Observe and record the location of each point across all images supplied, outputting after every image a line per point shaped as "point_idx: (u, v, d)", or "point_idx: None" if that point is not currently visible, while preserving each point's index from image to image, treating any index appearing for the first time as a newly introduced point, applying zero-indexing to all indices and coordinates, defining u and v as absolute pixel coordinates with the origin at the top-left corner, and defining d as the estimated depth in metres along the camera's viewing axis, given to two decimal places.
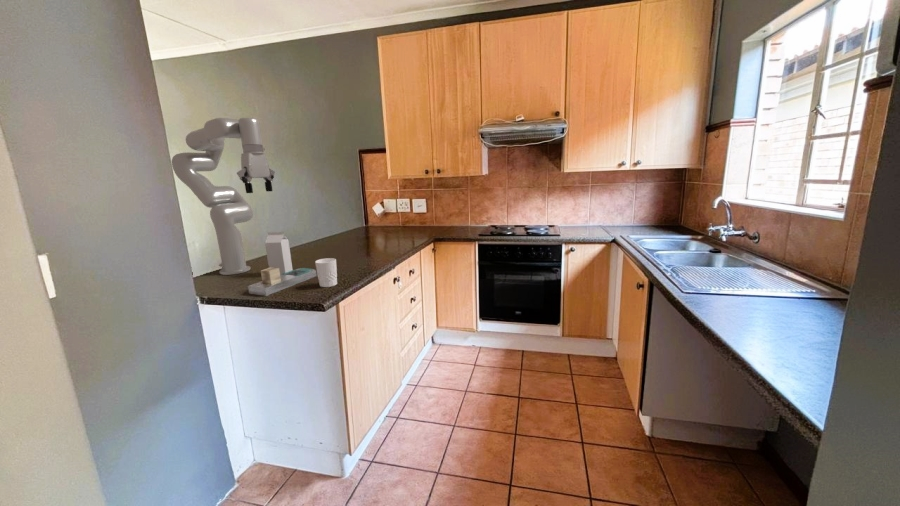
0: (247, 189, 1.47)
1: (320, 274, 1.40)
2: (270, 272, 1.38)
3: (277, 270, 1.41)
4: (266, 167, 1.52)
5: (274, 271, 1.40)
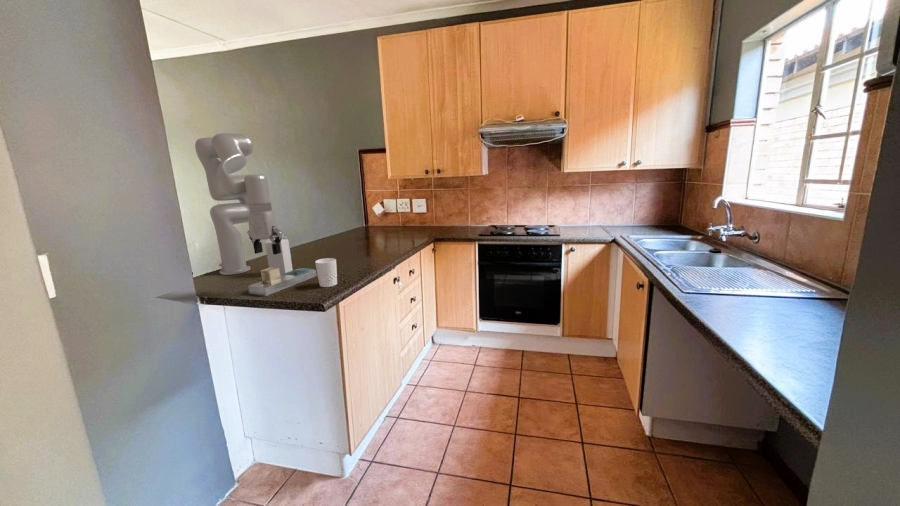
0: (279, 249, 1.36)
1: (320, 274, 1.40)
2: (270, 272, 1.38)
3: (277, 270, 1.41)
4: None
5: (274, 271, 1.40)
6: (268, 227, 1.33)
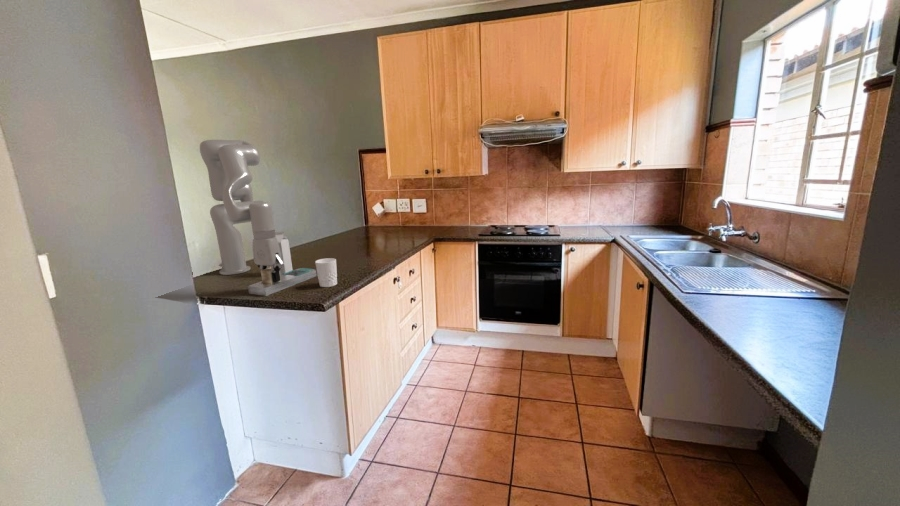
0: (278, 278, 1.40)
1: (320, 274, 1.40)
2: (270, 272, 1.38)
3: None
4: None
5: None
6: (272, 254, 1.35)
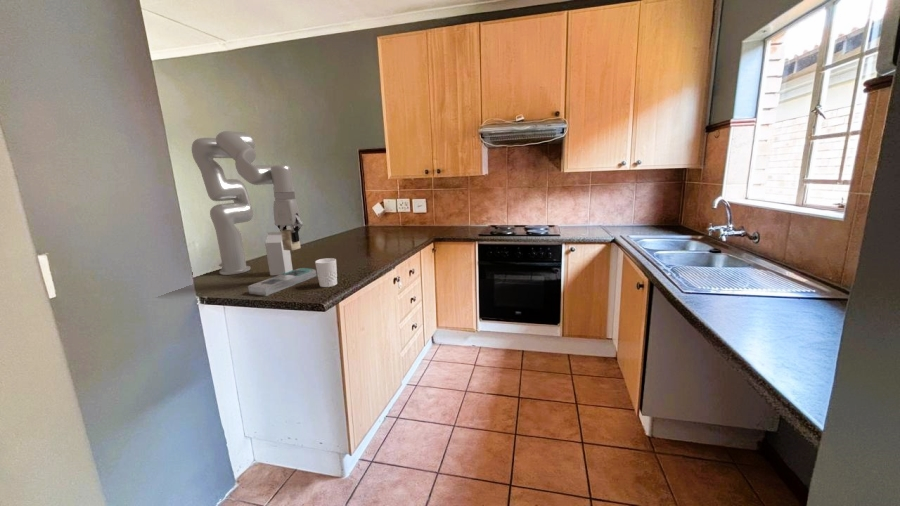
0: (297, 238, 1.48)
1: (320, 274, 1.40)
2: (290, 232, 1.46)
3: None
4: None
5: None
6: (292, 214, 1.43)
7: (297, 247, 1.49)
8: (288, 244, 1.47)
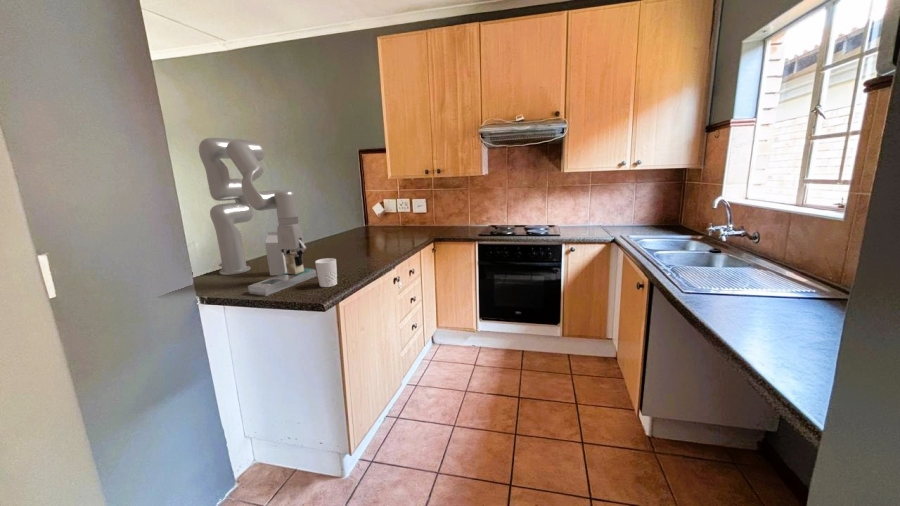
0: (301, 261, 1.50)
1: (320, 274, 1.40)
2: (293, 256, 1.48)
3: None
4: None
5: None
6: (296, 239, 1.45)
7: (300, 270, 1.52)
8: (292, 268, 1.49)
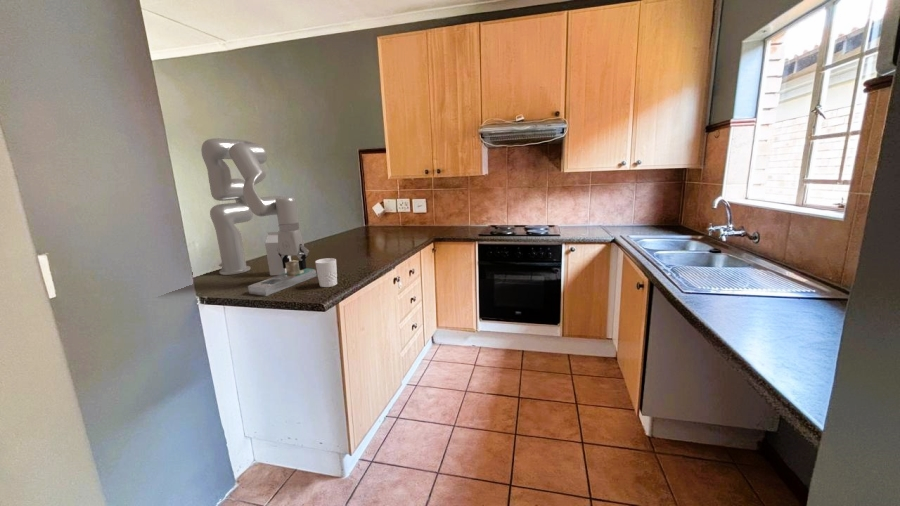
0: (304, 265, 1.49)
1: (320, 274, 1.40)
2: (294, 264, 1.49)
3: None
4: None
5: (298, 263, 1.50)
6: (296, 245, 1.46)
7: None
8: None
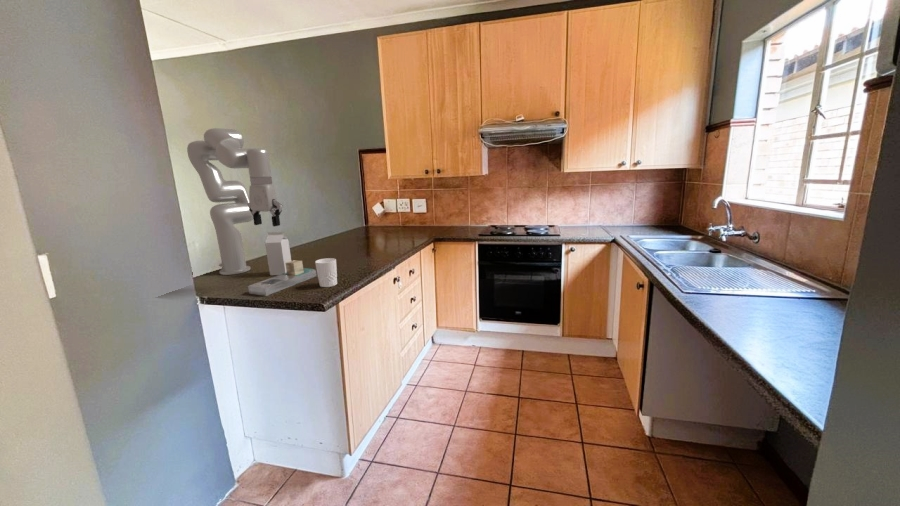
0: (278, 222, 1.43)
1: (320, 274, 1.40)
2: (294, 264, 1.49)
3: (300, 262, 1.52)
4: None
5: (298, 263, 1.50)
6: (269, 200, 1.39)
7: None
8: None
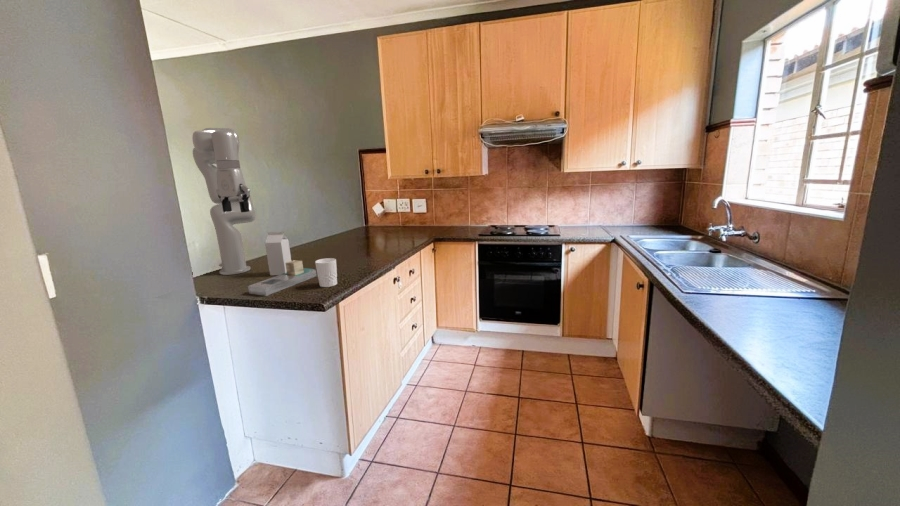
0: (246, 207, 1.37)
1: (320, 274, 1.40)
2: (294, 264, 1.49)
3: (300, 262, 1.52)
4: None
5: (298, 263, 1.50)
6: (235, 184, 1.33)
7: None
8: None
